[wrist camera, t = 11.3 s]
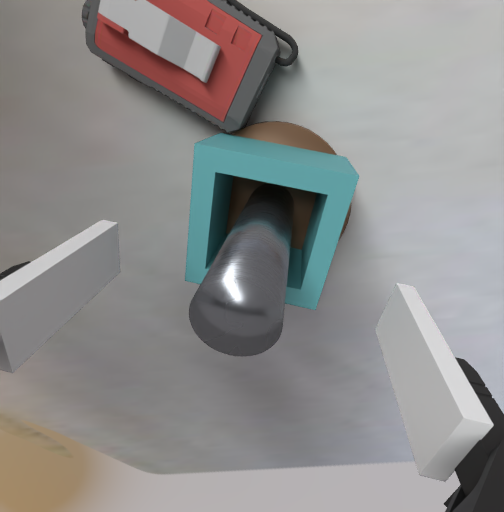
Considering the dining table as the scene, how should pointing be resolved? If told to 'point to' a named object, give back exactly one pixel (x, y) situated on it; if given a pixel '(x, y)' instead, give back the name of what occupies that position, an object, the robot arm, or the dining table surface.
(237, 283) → the post
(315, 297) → the collar
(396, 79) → the dining table surface
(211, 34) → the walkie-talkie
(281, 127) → the post base
